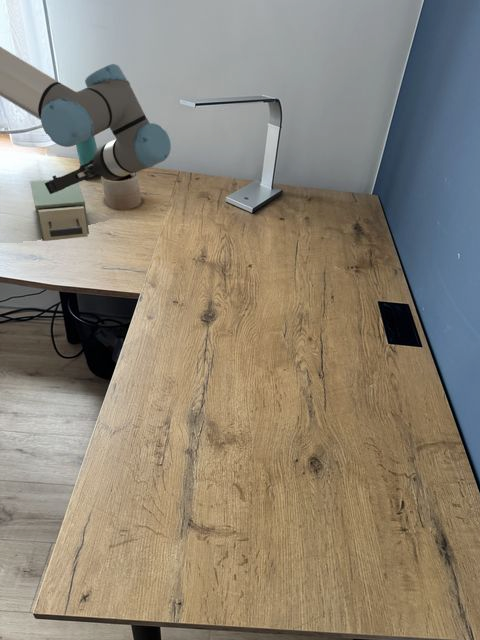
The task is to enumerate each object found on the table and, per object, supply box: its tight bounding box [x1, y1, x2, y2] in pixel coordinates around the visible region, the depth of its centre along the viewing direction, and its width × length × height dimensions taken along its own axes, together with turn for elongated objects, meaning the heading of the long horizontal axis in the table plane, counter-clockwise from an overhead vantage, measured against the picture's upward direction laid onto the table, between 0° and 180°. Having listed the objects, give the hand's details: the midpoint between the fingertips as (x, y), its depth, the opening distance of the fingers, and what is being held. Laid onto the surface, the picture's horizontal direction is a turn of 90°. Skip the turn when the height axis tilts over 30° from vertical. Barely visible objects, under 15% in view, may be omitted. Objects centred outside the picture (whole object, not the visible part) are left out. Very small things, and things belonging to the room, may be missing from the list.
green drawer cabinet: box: [29, 179, 90, 242], centre depth 142 cm, size 15×13×11 cm
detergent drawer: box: [38, 205, 89, 242], centre depth 139 cm, size 20×11×9 cm, turn 23°
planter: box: [100, 172, 142, 210], centre depth 155 cm, size 11×11×10 cm
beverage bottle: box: [75, 136, 98, 177], centre depth 163 cm, size 6×7×20 cm
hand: (71, 178), depth 125 cm, fingers open, 13 cm apart
